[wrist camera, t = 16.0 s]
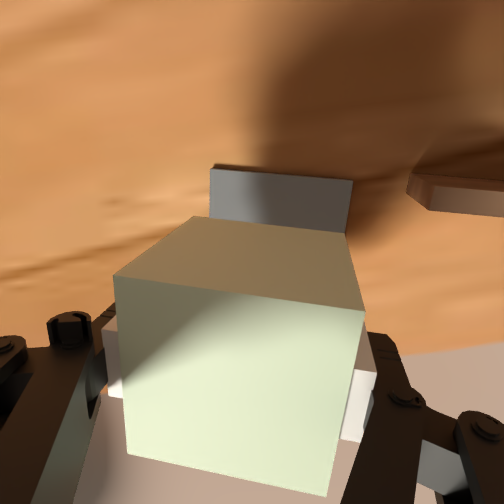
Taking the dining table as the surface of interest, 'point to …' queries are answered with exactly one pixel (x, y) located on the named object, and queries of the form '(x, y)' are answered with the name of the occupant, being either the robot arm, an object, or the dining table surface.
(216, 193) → the slate mat
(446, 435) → the robot arm
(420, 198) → the walnut cubby
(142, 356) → the sage block
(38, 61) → the dining table surface
